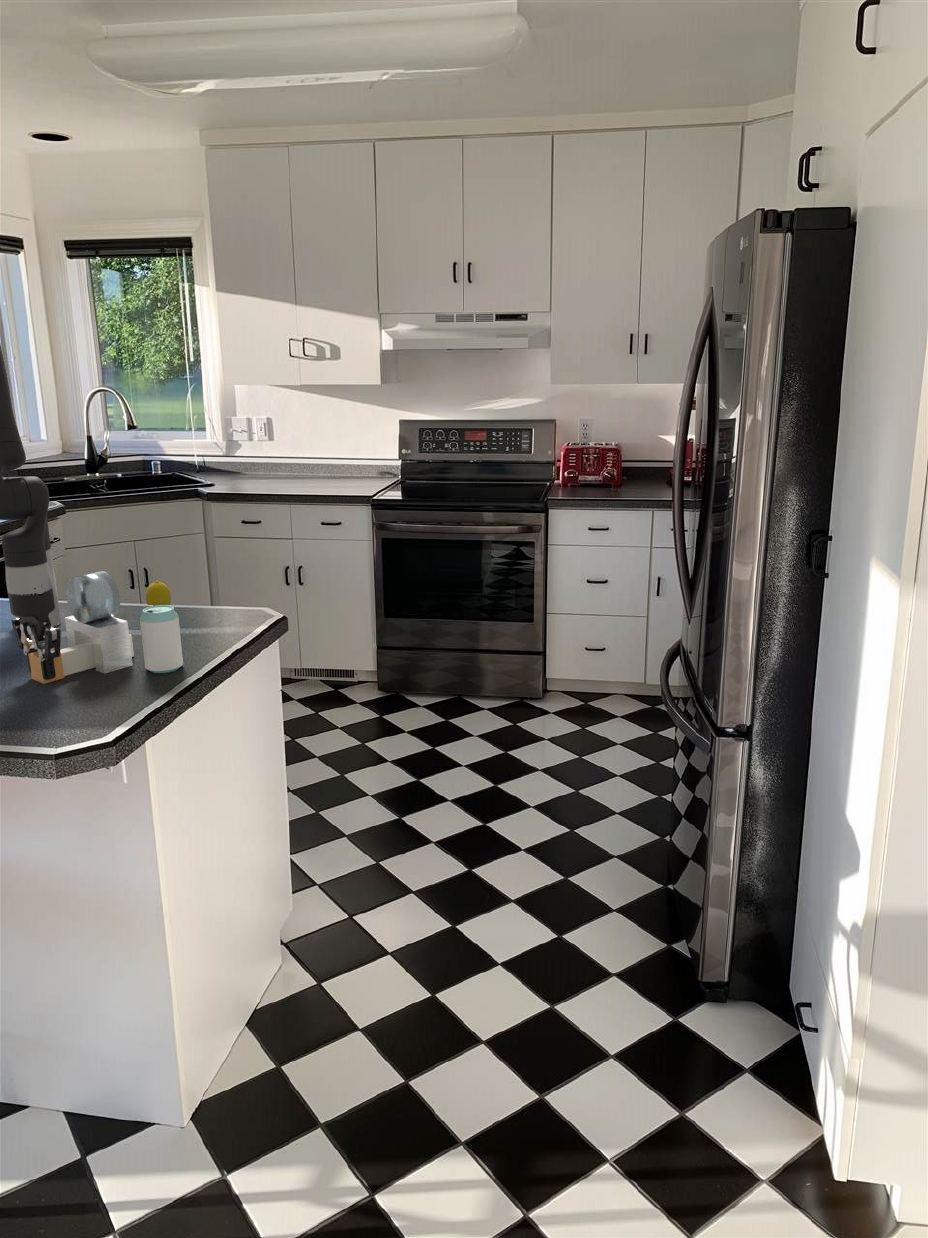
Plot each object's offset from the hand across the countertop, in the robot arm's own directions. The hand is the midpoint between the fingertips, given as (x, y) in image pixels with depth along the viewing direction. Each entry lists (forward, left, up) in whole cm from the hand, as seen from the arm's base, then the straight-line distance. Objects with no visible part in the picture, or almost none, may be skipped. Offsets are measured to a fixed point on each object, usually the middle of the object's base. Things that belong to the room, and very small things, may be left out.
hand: (42, 675), depth 181 cm
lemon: (-22, +40, -1) cm, 46 cm away
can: (+13, +18, -1) cm, 22 cm away
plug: (0, +9, -1) cm, 9 cm away
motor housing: (0, +12, -1) cm, 12 cm away
